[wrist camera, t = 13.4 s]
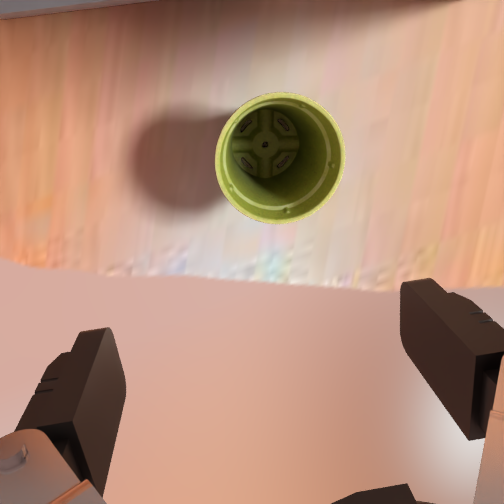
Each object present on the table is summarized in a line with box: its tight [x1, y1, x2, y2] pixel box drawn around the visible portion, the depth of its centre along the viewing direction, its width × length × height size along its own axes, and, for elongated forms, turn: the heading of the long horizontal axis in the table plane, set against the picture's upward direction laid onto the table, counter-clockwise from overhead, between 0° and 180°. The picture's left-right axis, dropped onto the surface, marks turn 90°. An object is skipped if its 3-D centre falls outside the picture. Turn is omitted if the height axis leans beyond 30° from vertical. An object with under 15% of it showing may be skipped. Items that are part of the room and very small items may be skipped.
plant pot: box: [215, 92, 345, 224], centre depth 37 cm, size 9×9×9 cm
